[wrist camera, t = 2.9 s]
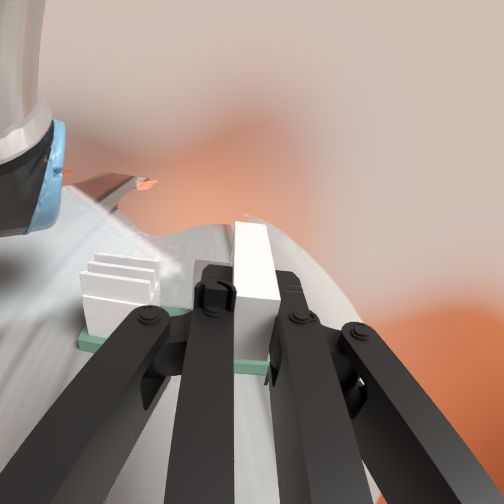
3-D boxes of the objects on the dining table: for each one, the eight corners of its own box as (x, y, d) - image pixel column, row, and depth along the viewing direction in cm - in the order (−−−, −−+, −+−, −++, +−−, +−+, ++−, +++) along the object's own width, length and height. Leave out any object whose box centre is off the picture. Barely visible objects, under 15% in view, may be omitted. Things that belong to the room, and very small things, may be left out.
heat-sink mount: (79, 349, 30) (65, 278, 26) (102, 306, 37) (95, 241, 33) (267, 375, 32) (285, 306, 28) (262, 326, 39) (275, 262, 35)
